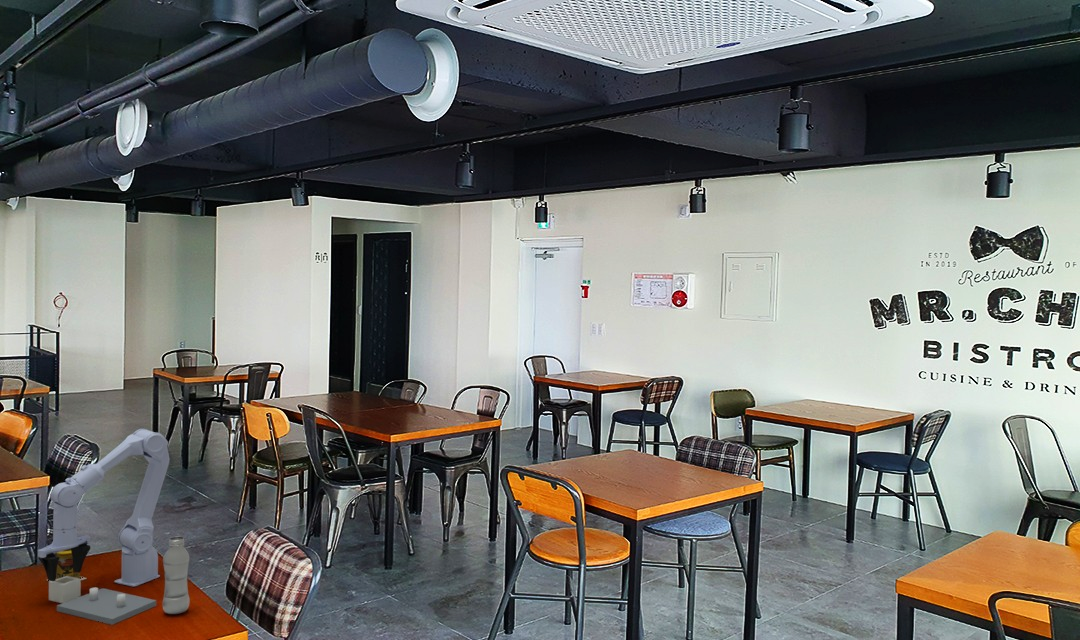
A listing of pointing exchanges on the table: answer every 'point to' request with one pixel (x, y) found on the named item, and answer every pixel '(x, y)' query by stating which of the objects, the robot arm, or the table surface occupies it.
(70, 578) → the collar
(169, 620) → the table surface
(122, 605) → the pin board
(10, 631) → the table surface
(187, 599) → the plastic bottle
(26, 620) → the table surface
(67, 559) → the condiment
